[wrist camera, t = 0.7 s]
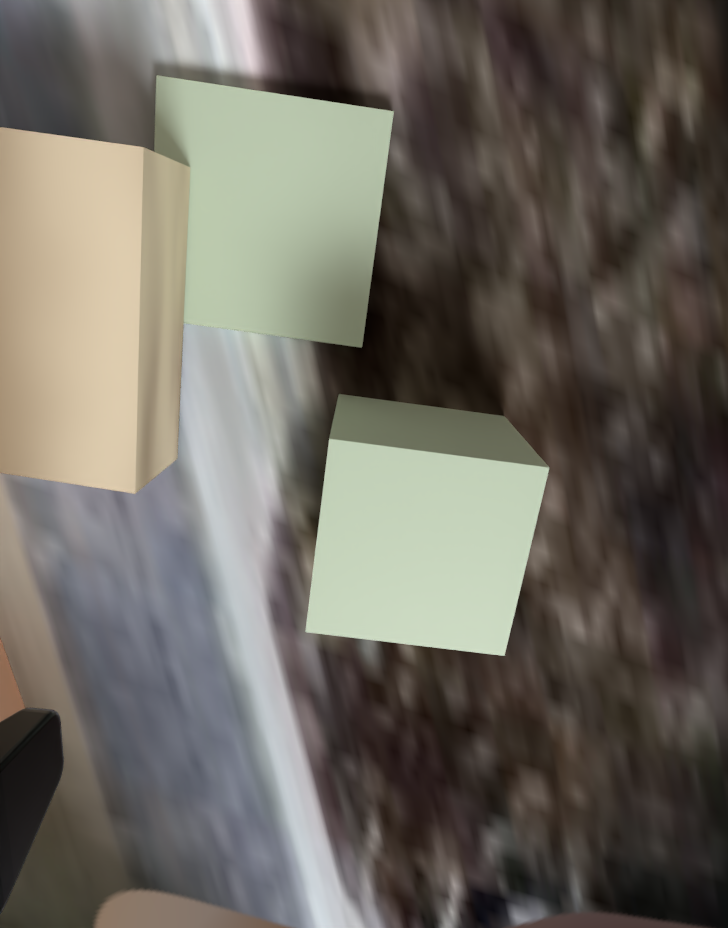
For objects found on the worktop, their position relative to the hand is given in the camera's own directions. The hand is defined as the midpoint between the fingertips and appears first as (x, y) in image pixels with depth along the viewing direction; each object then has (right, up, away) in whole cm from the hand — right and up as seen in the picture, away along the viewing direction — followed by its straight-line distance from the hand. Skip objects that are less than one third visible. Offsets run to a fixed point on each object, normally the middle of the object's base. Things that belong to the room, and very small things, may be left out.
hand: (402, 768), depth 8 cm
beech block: (-9, +8, +10) cm, 16 cm away
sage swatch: (-3, +11, +9) cm, 14 cm away
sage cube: (+1, +3, +12) cm, 12 cm away
